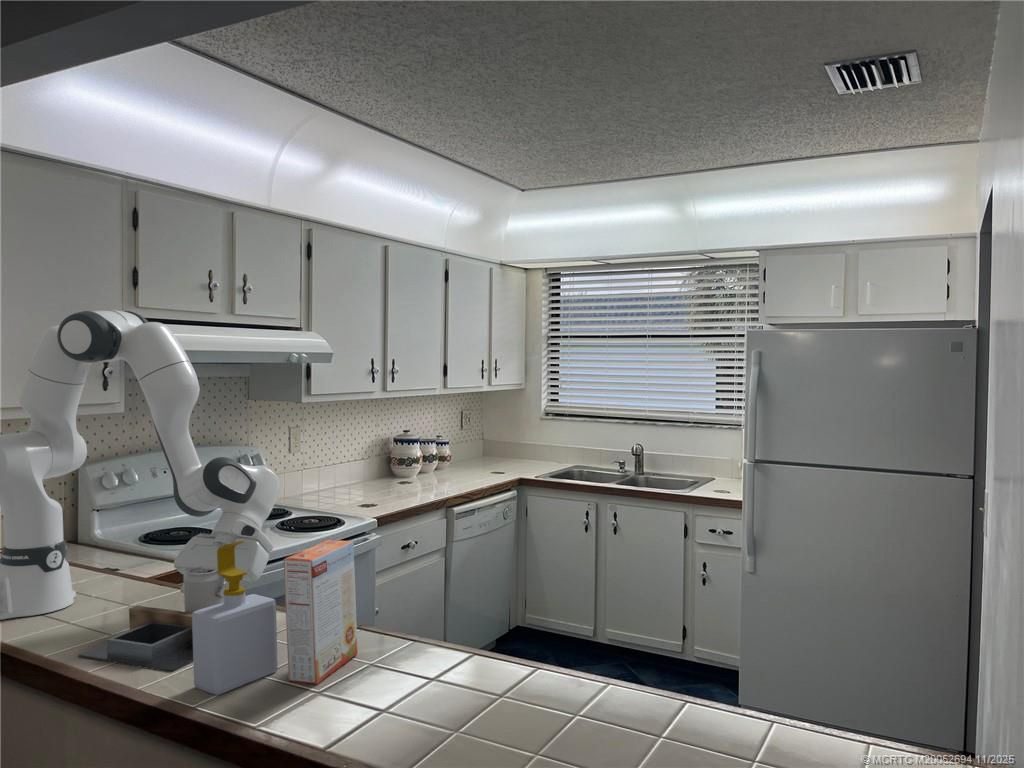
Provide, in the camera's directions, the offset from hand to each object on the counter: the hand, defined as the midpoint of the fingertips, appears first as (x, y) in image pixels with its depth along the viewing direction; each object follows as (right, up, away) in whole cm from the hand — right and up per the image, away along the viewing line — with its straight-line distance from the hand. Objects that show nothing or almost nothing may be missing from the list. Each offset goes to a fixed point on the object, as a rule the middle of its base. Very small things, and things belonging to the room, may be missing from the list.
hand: (202, 594), depth 158 cm
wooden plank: (-2, -7, -5) cm, 9 cm away
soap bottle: (+16, -8, -26) cm, 31 cm away
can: (0, -7, +1) cm, 7 cm away
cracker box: (+29, -7, -21) cm, 37 cm away
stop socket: (-4, -7, -12) cm, 15 cm away
